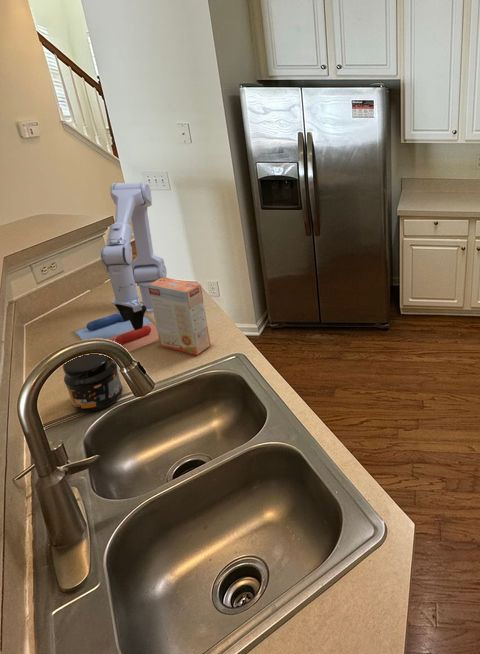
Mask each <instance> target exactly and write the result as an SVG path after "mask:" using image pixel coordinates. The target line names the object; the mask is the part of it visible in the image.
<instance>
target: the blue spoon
mask: <svg viewBox="0 0 480 654" xmlns="http://www.w3.org/2000/svg"><path fill="white" fill-rule="evenodd" d="M128 321H129V320H128ZM115 322H126V321H124V320H123V318H122V316H121V314H120V312H115V313H112V314H110V315H107V316H104V317H100V318H97V319H95V320H92V321H89V322H87V324H86V327H85V328H87V329H88V330H95V329H98V328H101V327H104V326H107V325H110V324H113V323H115Z"/></svg>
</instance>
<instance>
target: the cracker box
mask: <svg viewBox="0 0 480 654" xmlns="http://www.w3.org/2000/svg"><path fill="white" fill-rule="evenodd" d="M148 289H149V293H150V298H151V303H152V308H153V311H152V312H153V317H154V320H155V325H156V327H157V332H158V336H159V340H158V341H159V345H160V347H163V348H165V349H170V350H174V351H179V352H182V353H186V354H190V355H195V356H199V355H200V354H201V353H203V352H204V351H206V350H207V349H208V348H210V347H211V340H210V334H209V333H210V332H209V327H208V320H207V315H206V308H205V303H204V295H203V290H202V284H201V283H196V282H190V281H185V280H180V279H175V278H169V277H166V278H165V277H163V278H160V279H158V280H156V281H154V282H152V283H150V284H148Z"/></svg>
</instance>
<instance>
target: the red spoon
mask: <svg viewBox="0 0 480 654" xmlns="http://www.w3.org/2000/svg"><path fill="white" fill-rule="evenodd" d="M150 332H151V328H150V327H149V326H143V328H141V329H138V330H132V331H129V332H127V333H124V334H121V335H119V336H117V337H116V338H113V339H109V340H112V341H115V342H117V343H119V344H121V345H122V344H124V343H126V342H129V341H132V340H134V339H137V338H139V337H142V336H145V335H147V334H149V333H150Z"/></svg>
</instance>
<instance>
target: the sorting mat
mask: <svg viewBox="0 0 480 654" xmlns="http://www.w3.org/2000/svg"><path fill="white" fill-rule="evenodd" d="M143 326H149V327H150V328H151V332H150V333H149V334H147V335H145V336H142V337H139V338H137V339H134V340H132V341H129V342H126V343H124V344H122V346H123V347H124V348H126V349H127V350H128V352H127V353H130V352H132V351H134V350H137V349H139V348H142V347H144V346H146V345H149V344H152V343H153V342H154V343H155V342H158V341H159V336H158V332H157V327H156V323H154V322H153V321H151V320H150V319H148V317H146V316H145V315H144V318H143ZM132 330H134V328H133V326H132V324H131V322H130V320H129V321H126V322H115V323H113V324H110V325H107V326H104V327H101V328H98V329H95V330H88V329H87V327H84V328H81V329H78V330H75V331H74V332H75V333H76V334H77V336H78V337H79V339H81V340H82V341H83V340H85V339H91V338H103V339H113V338H116V337H117V336H119V335H121V334H124V333H127V332H129V331H132Z"/></svg>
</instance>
